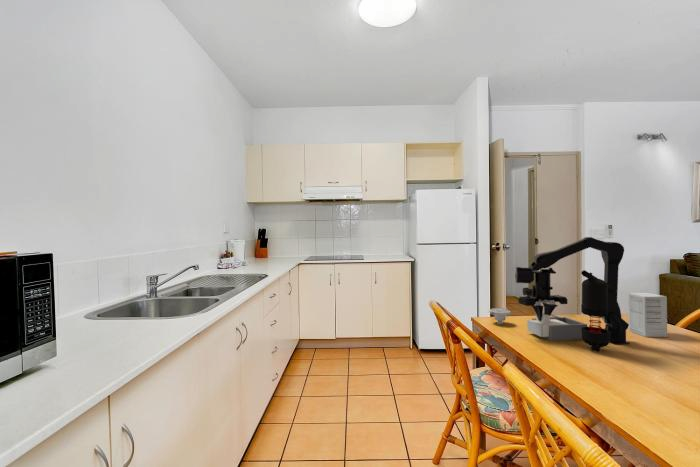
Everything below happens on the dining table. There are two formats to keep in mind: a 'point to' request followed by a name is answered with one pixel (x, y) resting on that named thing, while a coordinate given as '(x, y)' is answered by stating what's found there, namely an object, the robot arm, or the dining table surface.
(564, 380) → the dining table surface
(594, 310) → the black tall rounded body
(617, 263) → the robot arm
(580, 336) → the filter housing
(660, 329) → the supplement box
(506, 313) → the showerhead
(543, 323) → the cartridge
